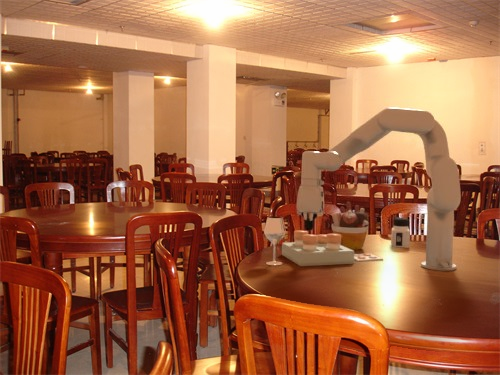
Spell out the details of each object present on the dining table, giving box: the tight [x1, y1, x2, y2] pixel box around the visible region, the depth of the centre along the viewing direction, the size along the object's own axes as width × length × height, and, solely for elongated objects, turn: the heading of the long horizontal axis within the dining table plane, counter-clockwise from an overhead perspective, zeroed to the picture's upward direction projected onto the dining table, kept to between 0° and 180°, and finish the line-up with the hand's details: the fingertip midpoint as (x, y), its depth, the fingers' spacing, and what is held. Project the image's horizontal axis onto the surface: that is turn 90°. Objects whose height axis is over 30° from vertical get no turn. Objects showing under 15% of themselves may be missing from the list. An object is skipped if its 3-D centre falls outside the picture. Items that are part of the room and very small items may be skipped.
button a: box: [326, 233, 341, 250], centre depth 217 cm, size 6×6×7 cm
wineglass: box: [263, 215, 287, 267], centre depth 210 cm, size 8×8×18 cm
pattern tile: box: [354, 253, 384, 262], centre depth 224 cm, size 11×11×1 cm
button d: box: [293, 229, 309, 247], centre depth 224 cm, size 6×6×7 cm
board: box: [281, 241, 355, 267], centre depth 220 cm, size 22×22×5 cm
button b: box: [316, 233, 327, 246], centre depth 226 cm, size 6×6×7 cm
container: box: [390, 217, 411, 249], centre depth 252 cm, size 8×8×13 cm
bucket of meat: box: [330, 201, 370, 251], centre depth 245 cm, size 20×16×20 cm
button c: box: [303, 233, 318, 251], centre depth 214 cm, size 6×6×7 cm
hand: (309, 230), depth 214 cm, fingers closed
